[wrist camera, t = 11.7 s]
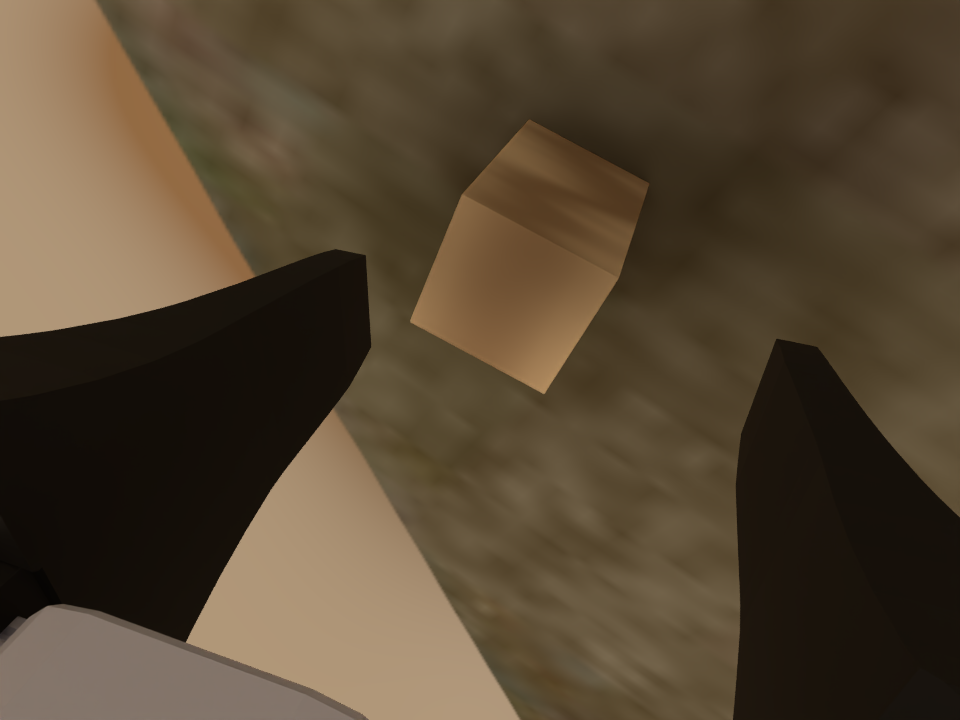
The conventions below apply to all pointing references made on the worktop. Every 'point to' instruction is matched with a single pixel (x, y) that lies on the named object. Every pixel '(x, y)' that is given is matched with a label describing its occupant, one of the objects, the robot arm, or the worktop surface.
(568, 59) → the worktop surface
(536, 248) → the oak block
